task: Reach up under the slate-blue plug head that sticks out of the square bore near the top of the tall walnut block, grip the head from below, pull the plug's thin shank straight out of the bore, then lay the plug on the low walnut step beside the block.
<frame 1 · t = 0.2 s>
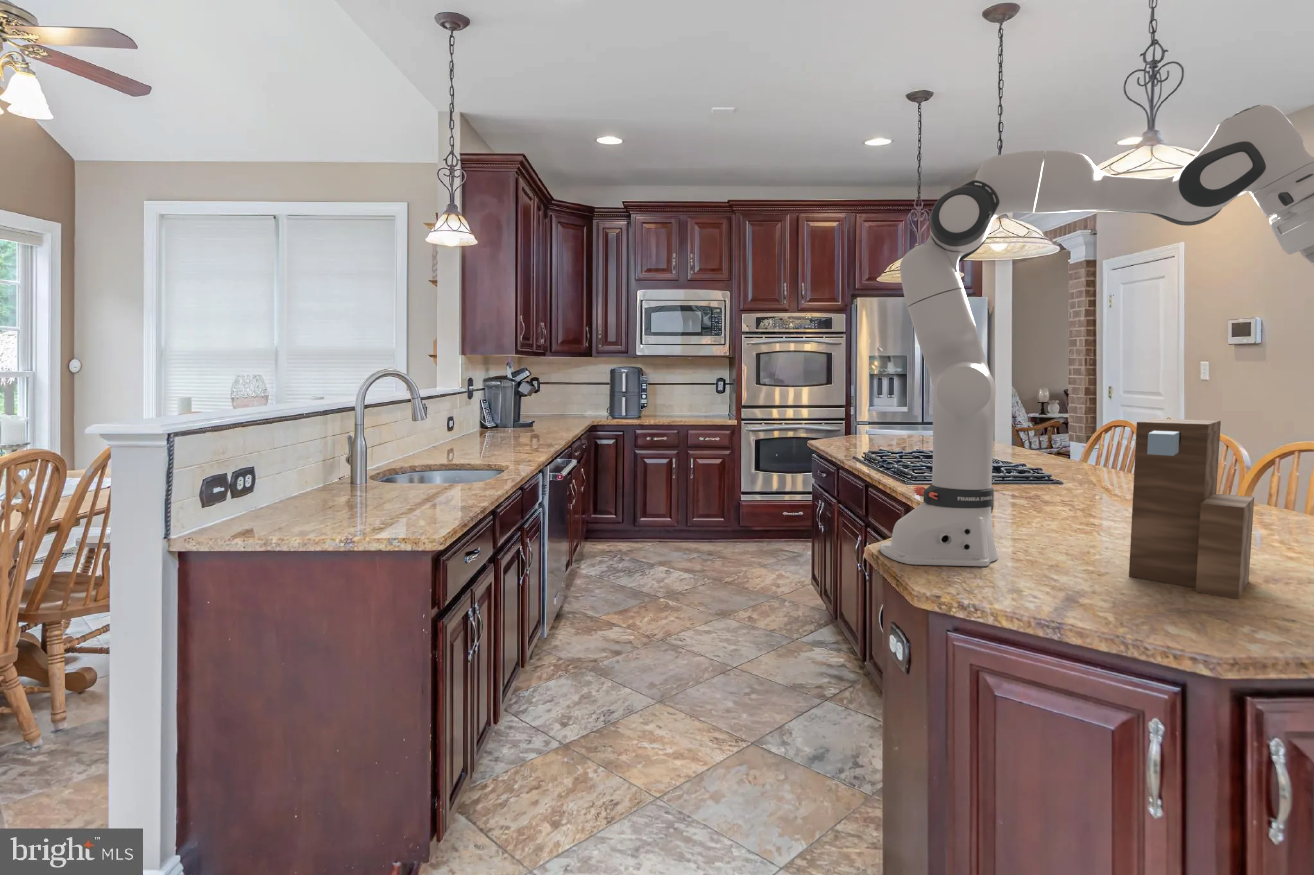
plug: (1162, 453, 115), point 23 cm above the countertop, touching stand
stand: (1170, 574, 126), on the countertop
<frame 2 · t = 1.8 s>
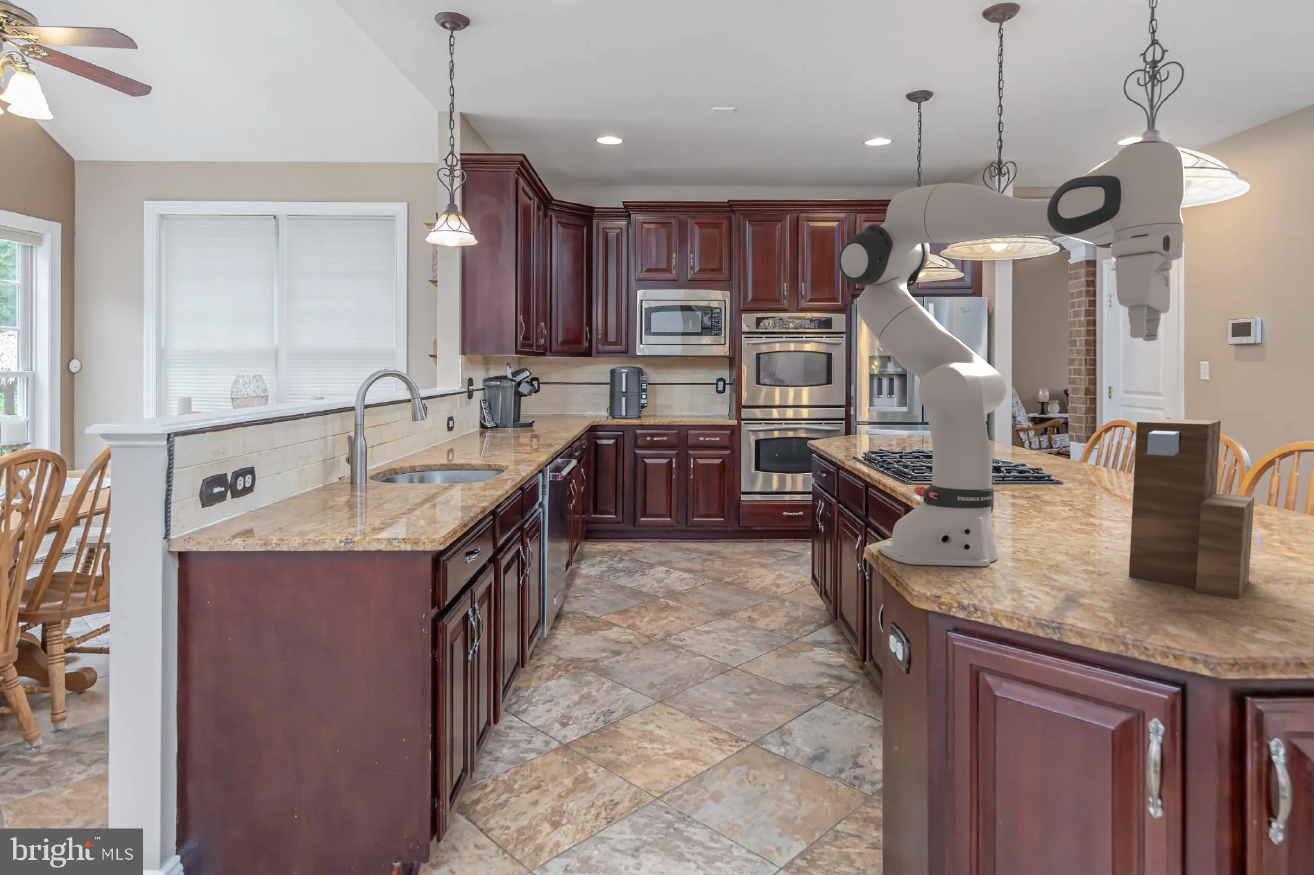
hand: (1144, 339, 108), 42 cm above the countertop, tool pointing down, fingers open, 8 cm apart
nothing on the countertop moved.
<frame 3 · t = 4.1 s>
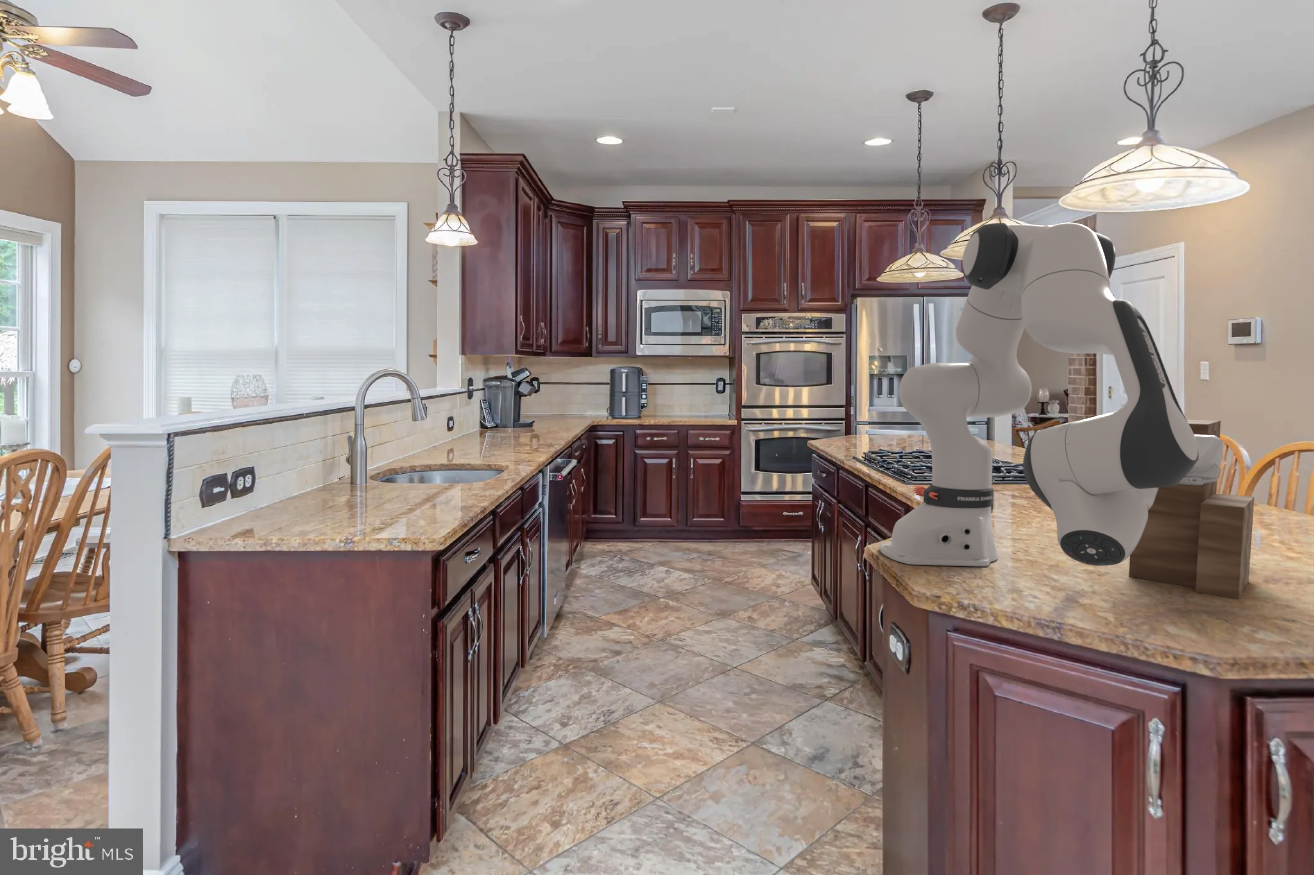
hand: (1141, 424, 103), 29 cm above the countertop, tool pointing upward, fingers open, 8 cm apart
nothing on the countertop moved.
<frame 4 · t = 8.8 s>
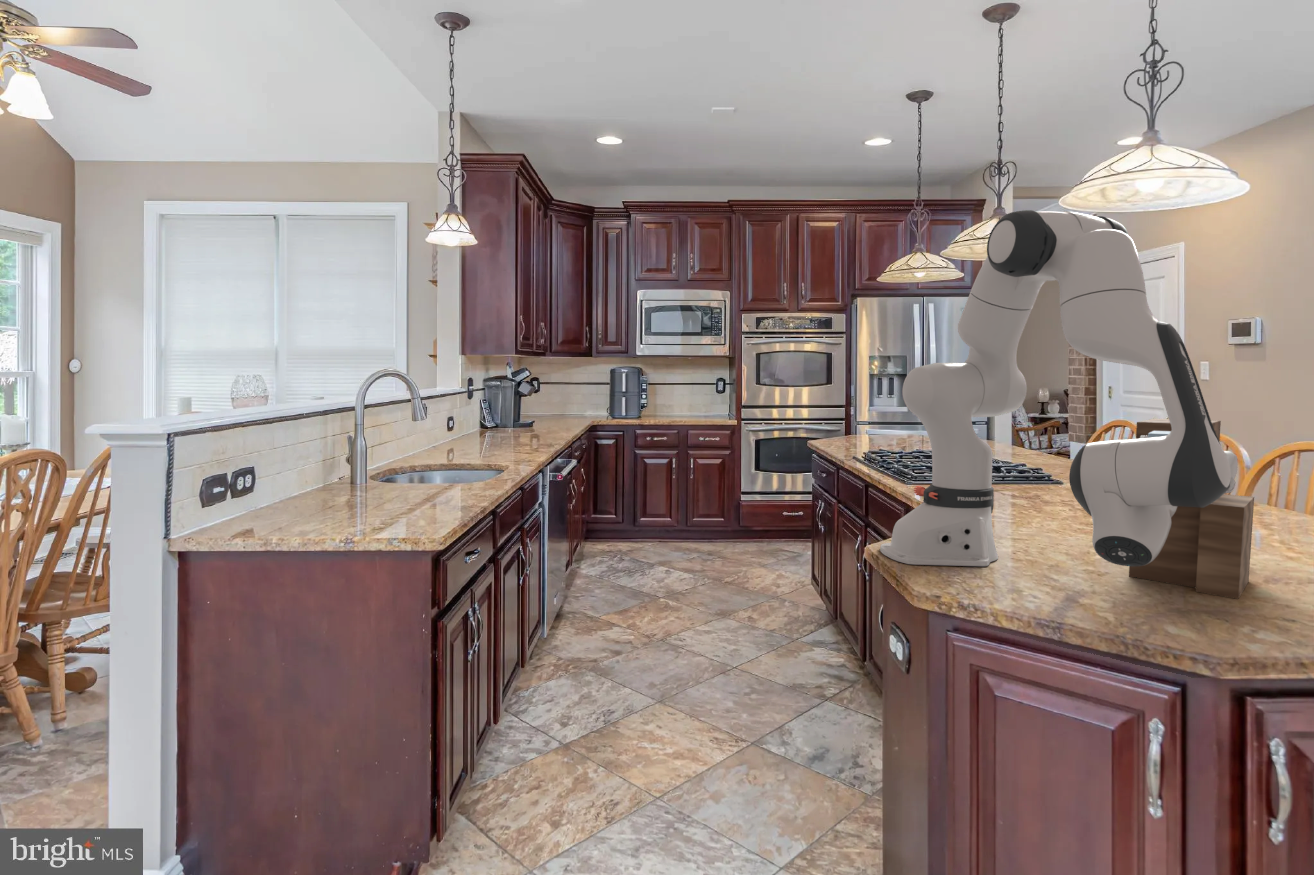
hand: (1164, 439, 116), 25 cm above the countertop, tool pointing upward, fingers closed on plug, 3 cm apart
plug: (1162, 453, 115), point 23 cm above the countertop, touching gripper, stand
everything else where it was.
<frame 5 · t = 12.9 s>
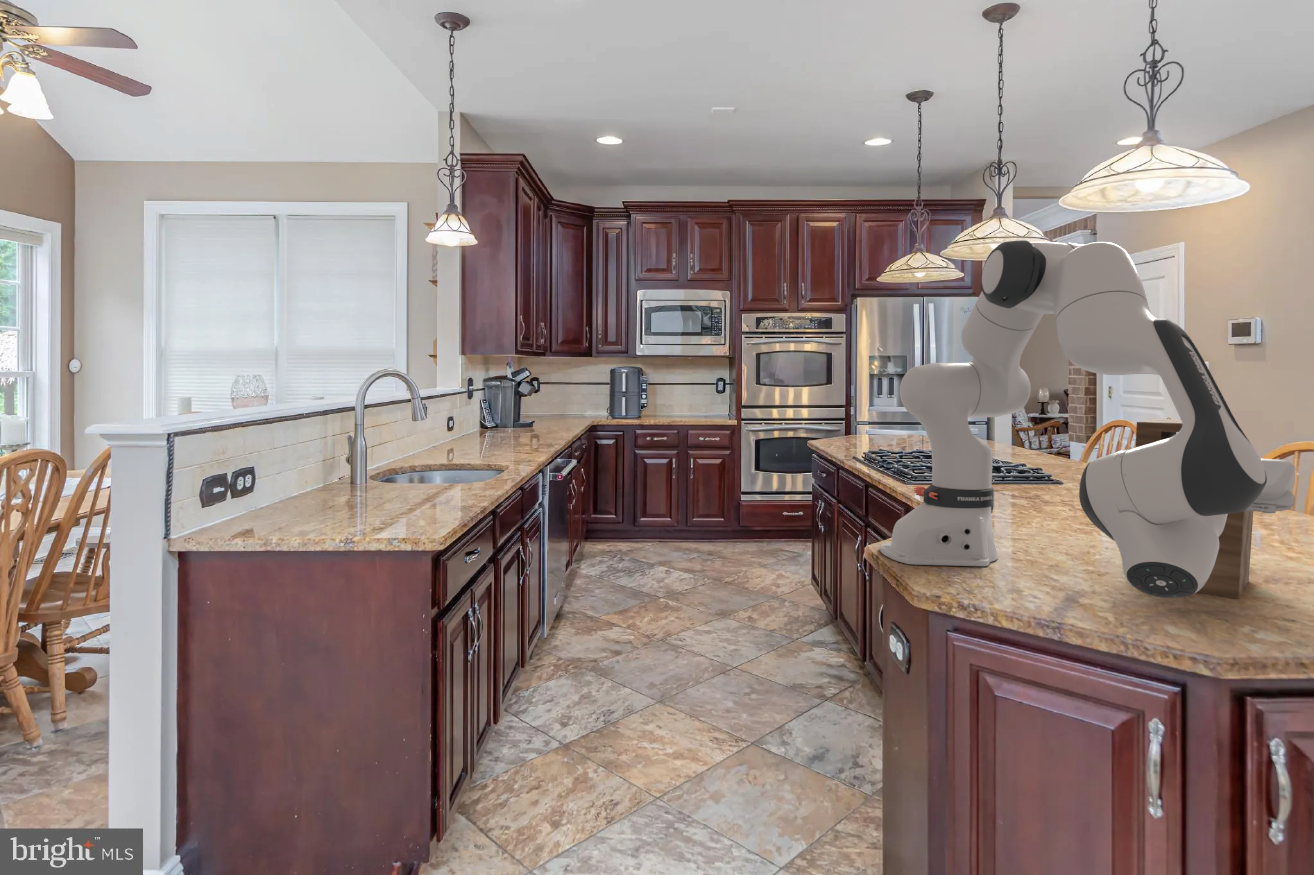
hand: (1203, 445, 99), 26 cm above the countertop, tool pointing upward, fingers closed on plug, 3 cm apart
plug: (1202, 461, 99), point 24 cm above the countertop, touching gripper
everything else where it was.
when the fingers open (19 cm above the countertop, at t = 17.3 s): plug drops 1 cm, resting on stand.
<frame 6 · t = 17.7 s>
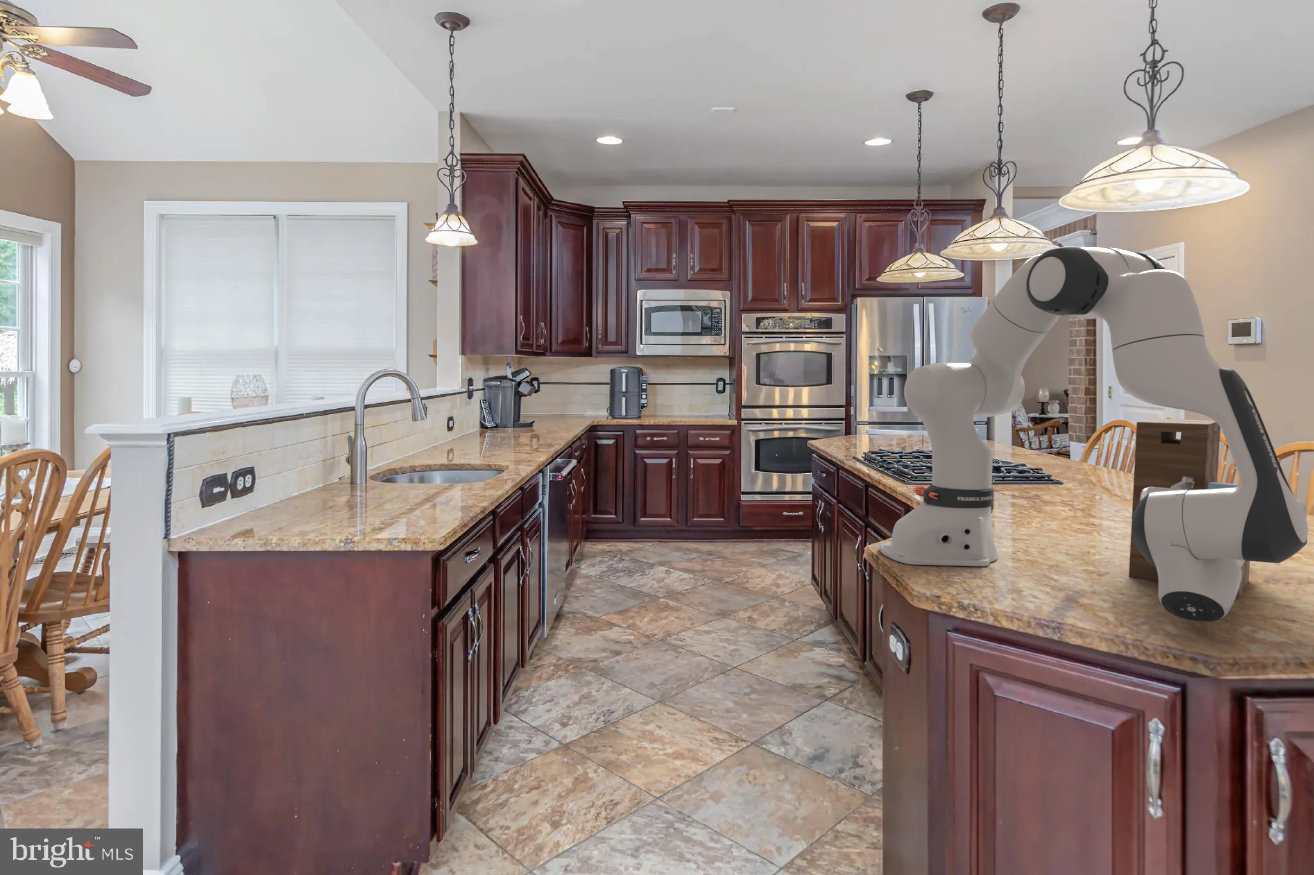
hand: (1225, 483, 112), 19 cm above the countertop, tool pointing upward, fingers open, 8 cm apart
plug: (1222, 505, 112), point 15 cm above the countertop, touching stand
everything else where it was.
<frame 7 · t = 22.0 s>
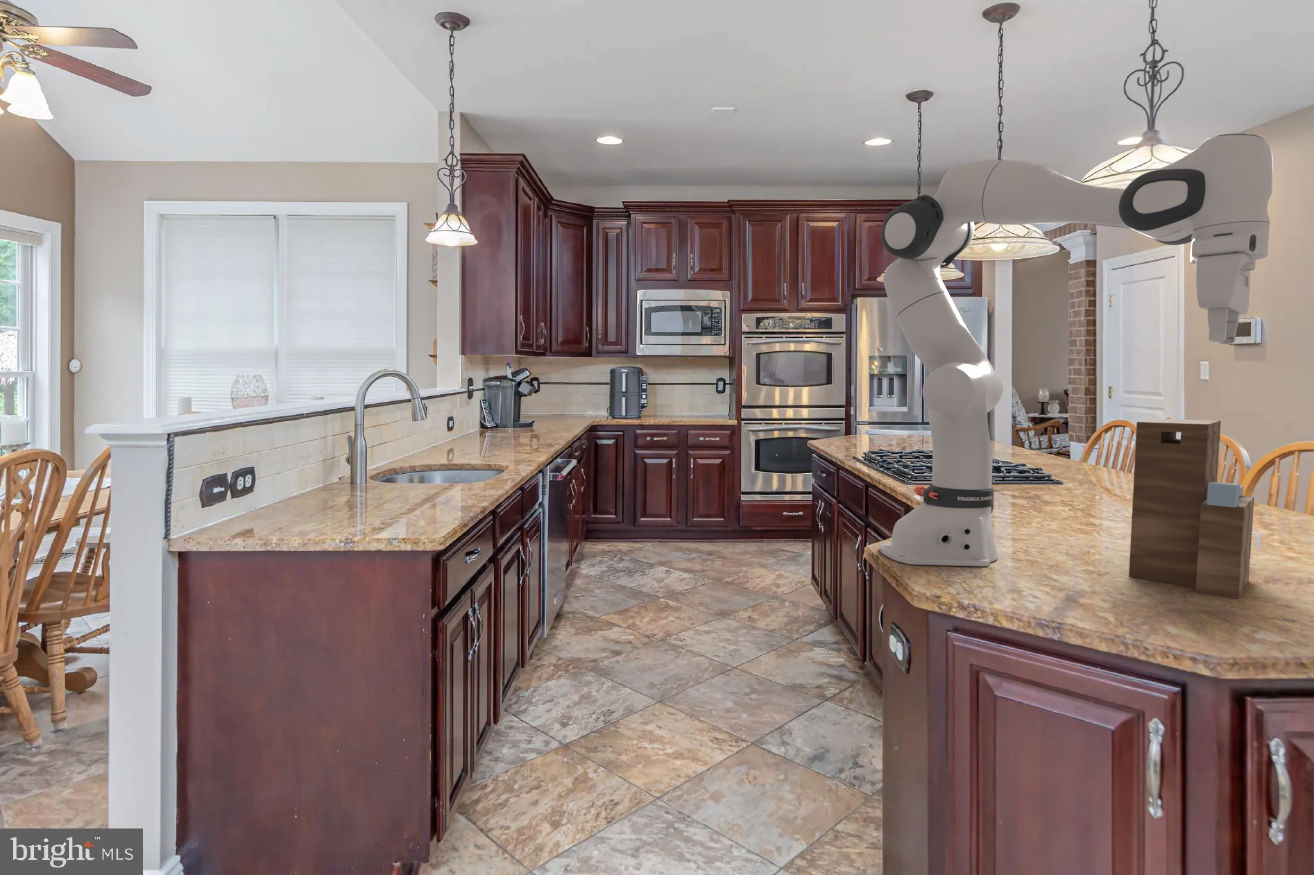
hand: (1222, 342, 103), 41 cm above the countertop, tool pointing down, fingers open, 8 cm apart
nothing on the countertop moved.
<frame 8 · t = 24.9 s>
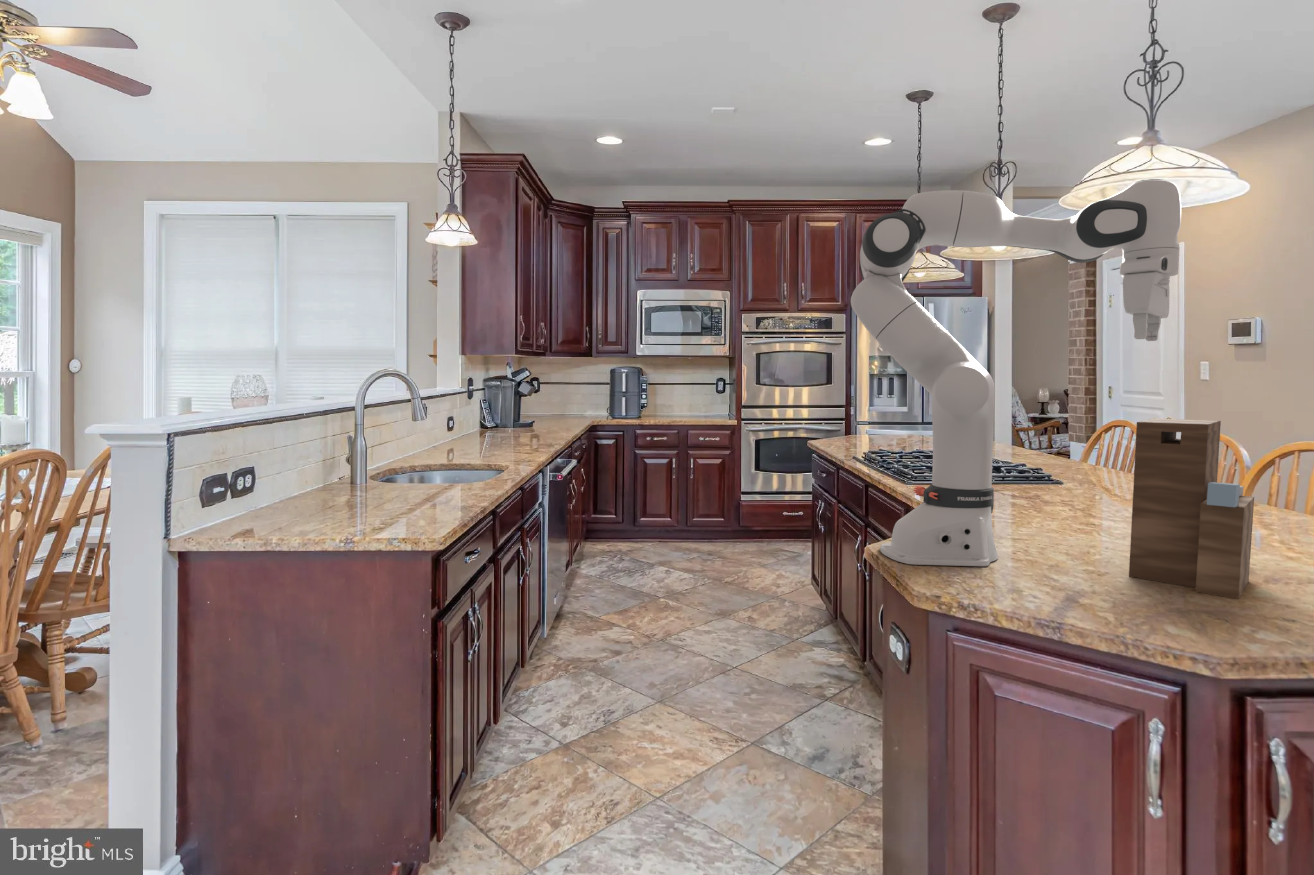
hand: (1146, 340, 134), 43 cm above the countertop, tool pointing down, fingers open, 8 cm apart
nothing on the countertop moved.
at the end: plug inside the target area (0.2 cm from its centre), point 15.2 cm above the countertop; plug moved 11.6 cm from its start; the gripper is holding nothing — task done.
